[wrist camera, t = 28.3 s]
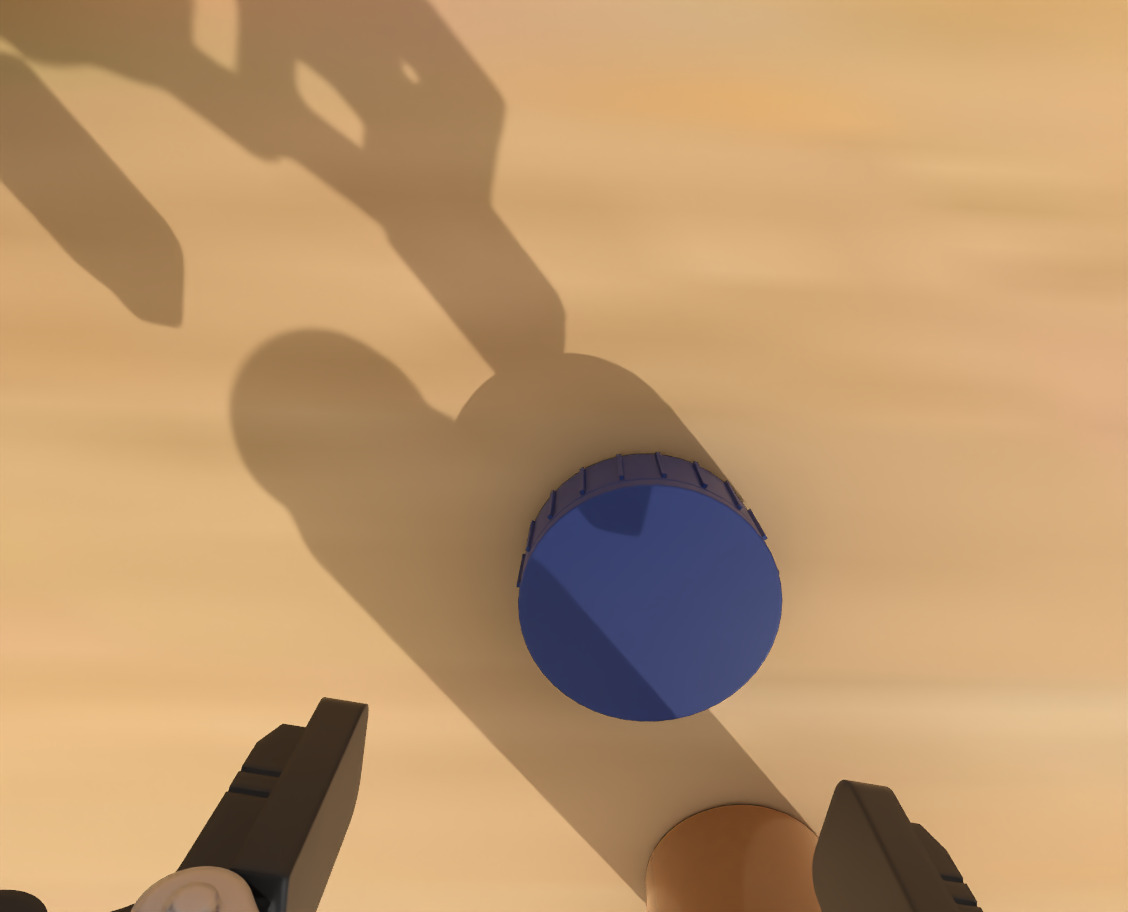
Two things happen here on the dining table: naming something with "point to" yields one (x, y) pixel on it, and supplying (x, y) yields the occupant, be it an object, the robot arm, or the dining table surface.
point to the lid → (647, 589)
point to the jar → (734, 863)
